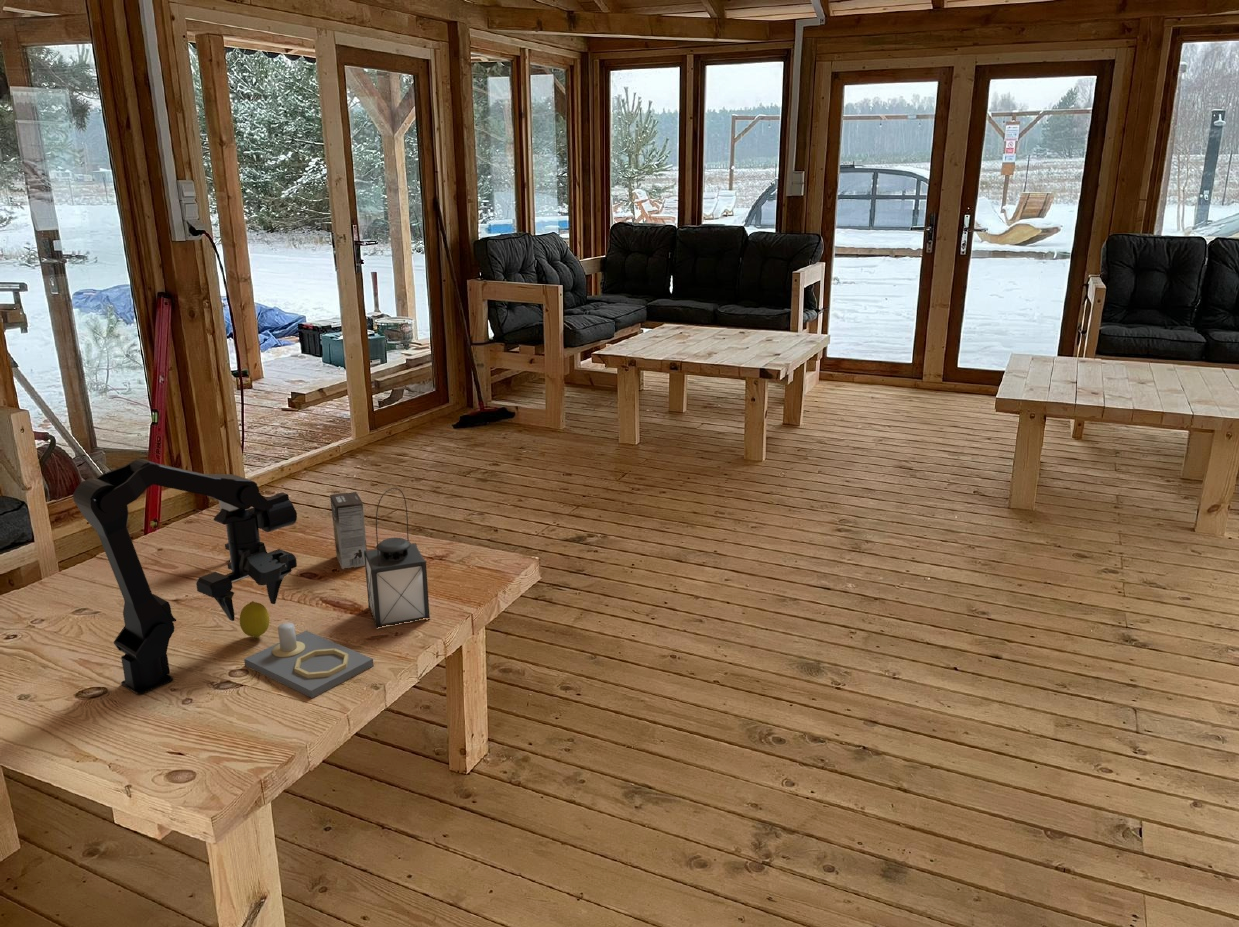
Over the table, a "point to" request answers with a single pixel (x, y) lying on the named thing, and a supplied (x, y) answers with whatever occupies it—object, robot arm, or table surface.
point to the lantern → (396, 581)
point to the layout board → (307, 661)
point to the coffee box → (349, 529)
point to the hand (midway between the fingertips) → (252, 611)
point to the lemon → (254, 619)
